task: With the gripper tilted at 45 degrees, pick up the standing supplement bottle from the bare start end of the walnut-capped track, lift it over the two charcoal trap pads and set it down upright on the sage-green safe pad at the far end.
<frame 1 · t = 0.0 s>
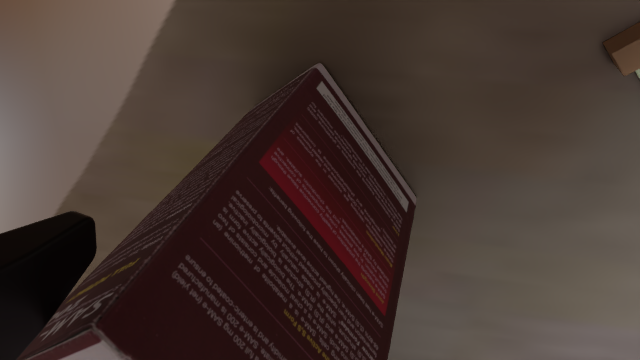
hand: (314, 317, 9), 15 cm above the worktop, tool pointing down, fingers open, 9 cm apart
supplement box: (336, 153, 24), on the worktop
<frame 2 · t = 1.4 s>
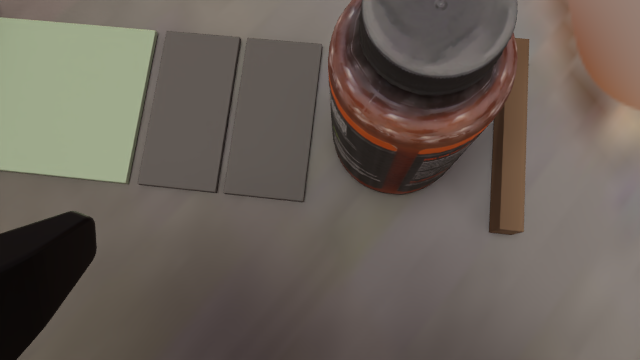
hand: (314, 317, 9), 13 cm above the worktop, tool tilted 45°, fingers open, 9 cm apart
trap pads: (225, 113, 24), on the worktop
safe pad: (61, 98, 24), on the worktop
supplement bottle: (393, 137, 23), on the worktop
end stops: (225, 113, 24), on the worktop
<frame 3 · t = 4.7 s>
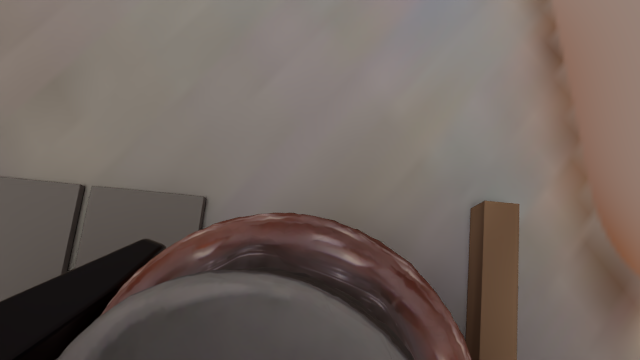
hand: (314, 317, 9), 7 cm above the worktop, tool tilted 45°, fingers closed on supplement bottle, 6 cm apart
trap pads: (53, 307, 15), on the worktop
supplement bottle: (310, 345, 15), on the worktop, touching gripper
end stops: (53, 307, 15), on the worktop
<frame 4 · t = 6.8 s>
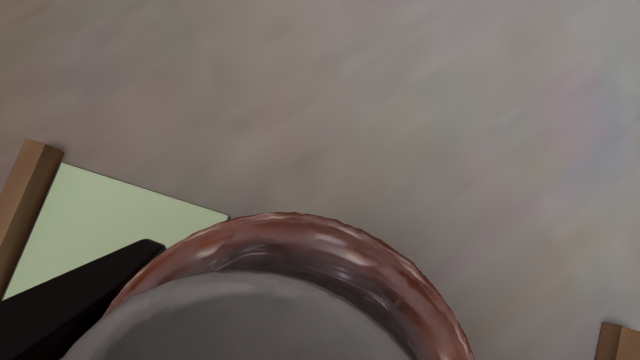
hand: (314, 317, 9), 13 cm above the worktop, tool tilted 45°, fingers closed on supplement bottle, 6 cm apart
safe pad: (114, 270, 22), on the worktop
supplement bottle: (312, 344, 15), point 6 cm above the worktop, touching gripper
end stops: (286, 328, 21), on the worktop
when the fingers open (8 cm above the worktop, at t = 9.3 s): supplement bottle drops 1 cm, resting on safe pad.
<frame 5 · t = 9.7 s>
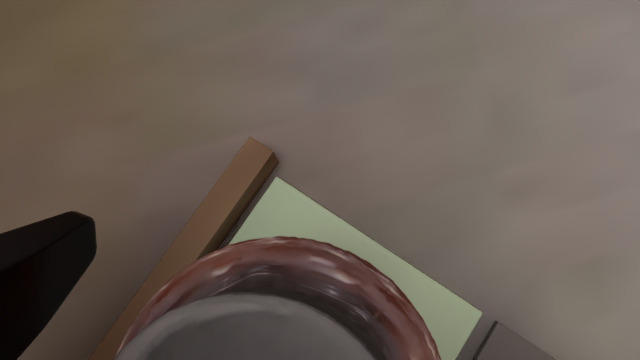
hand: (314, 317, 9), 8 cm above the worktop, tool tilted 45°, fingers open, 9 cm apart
safe pad: (312, 339, 17), on the worktop
supplement bottle: (310, 346, 16), resting on safe pad
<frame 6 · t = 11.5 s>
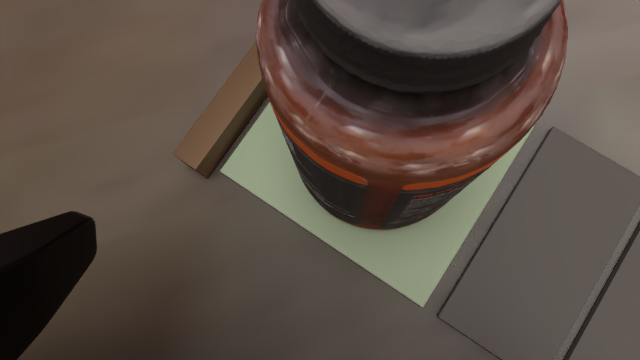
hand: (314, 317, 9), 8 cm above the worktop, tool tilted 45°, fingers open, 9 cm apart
trap pads: (587, 277, 16), on the worktop
safe pad: (378, 147, 18), on the worktop
supplement bottle: (377, 152, 17), resting on safe pad
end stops: (587, 277, 16), on the worktop
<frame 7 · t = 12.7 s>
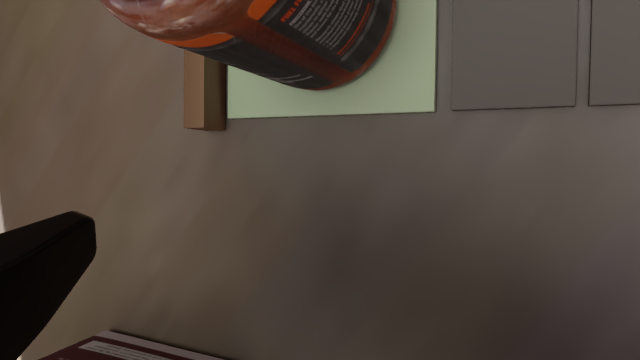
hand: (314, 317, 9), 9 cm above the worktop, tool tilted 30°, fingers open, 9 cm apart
safe pad: (325, 12, 19), on the worktop
supplement bottle: (326, 17, 18), resting on safe pad
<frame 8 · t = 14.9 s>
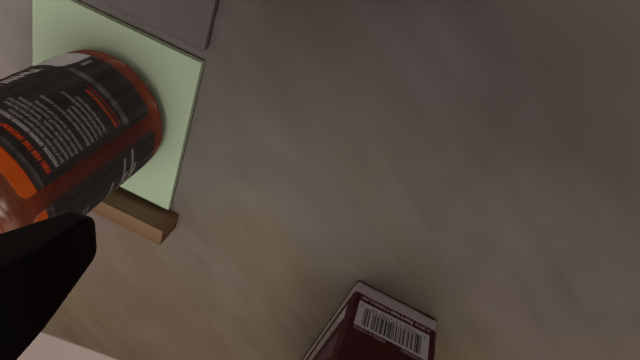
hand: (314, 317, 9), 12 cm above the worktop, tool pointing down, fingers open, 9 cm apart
supplement box: (365, 340, 27), on the worktop
safe pad: (111, 105, 23), on the worktop
supplement bottle: (114, 107, 23), resting on safe pad
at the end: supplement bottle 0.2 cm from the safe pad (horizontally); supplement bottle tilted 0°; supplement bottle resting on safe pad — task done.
